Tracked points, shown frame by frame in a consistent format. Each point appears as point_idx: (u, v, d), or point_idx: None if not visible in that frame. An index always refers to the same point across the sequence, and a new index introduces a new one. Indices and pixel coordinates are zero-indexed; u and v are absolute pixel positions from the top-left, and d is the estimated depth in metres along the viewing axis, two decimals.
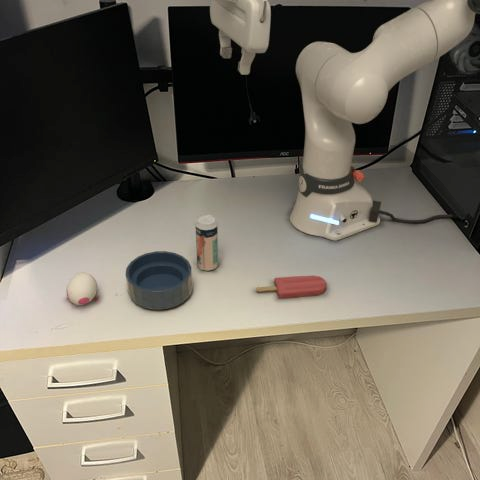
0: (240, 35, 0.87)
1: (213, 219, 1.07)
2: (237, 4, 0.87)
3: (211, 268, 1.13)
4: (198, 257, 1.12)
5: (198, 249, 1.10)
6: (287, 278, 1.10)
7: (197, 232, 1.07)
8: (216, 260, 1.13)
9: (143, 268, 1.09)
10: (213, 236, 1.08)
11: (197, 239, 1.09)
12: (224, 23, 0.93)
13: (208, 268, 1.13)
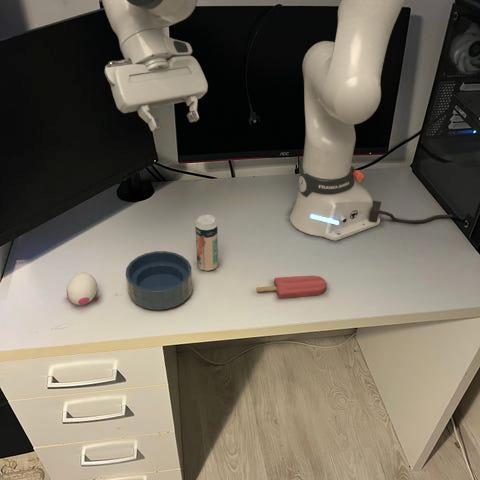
0: None
1: (213, 219, 1.07)
2: None
3: (211, 268, 1.13)
4: (198, 257, 1.12)
5: (198, 249, 1.10)
6: (287, 278, 1.10)
7: (197, 232, 1.07)
8: (216, 260, 1.13)
9: (143, 268, 1.09)
10: (213, 236, 1.08)
11: (197, 239, 1.09)
12: None
13: (208, 268, 1.13)
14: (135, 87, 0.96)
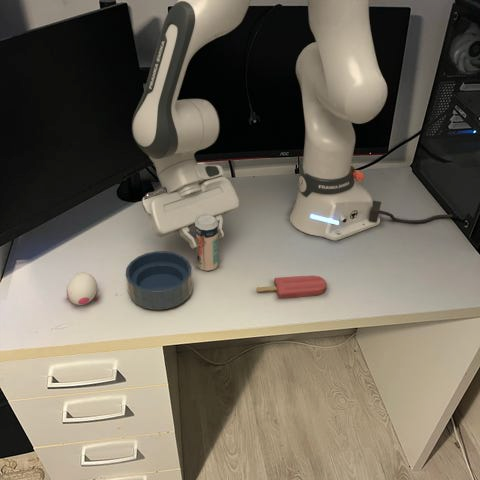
0: None
1: (213, 219, 1.07)
2: None
3: (211, 268, 1.13)
4: (198, 257, 1.12)
5: (198, 249, 1.10)
6: (287, 278, 1.10)
7: (197, 232, 1.07)
8: (216, 260, 1.13)
9: (143, 268, 1.09)
10: (214, 236, 1.08)
11: None
12: None
13: (208, 268, 1.13)
14: (169, 216, 1.05)
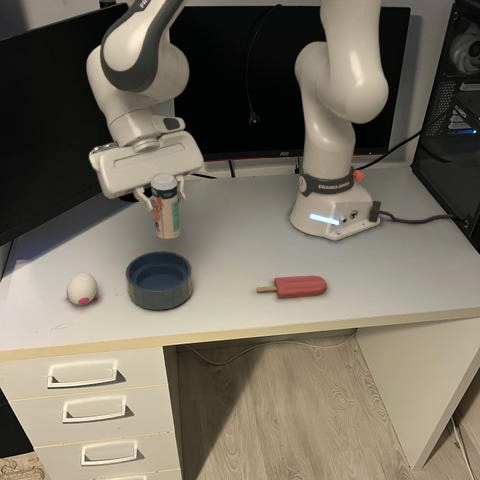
0: None
1: (172, 178, 0.93)
2: None
3: (172, 236, 0.99)
4: (156, 223, 0.98)
5: (156, 214, 0.97)
6: (287, 278, 1.10)
7: (153, 193, 0.94)
8: (177, 227, 0.99)
9: (143, 268, 1.09)
10: (172, 197, 0.94)
11: None
12: None
13: (168, 236, 0.99)
14: (120, 173, 0.91)
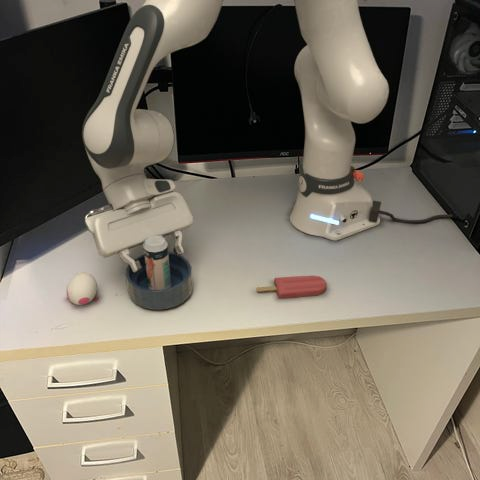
0: None
1: (162, 240, 1.00)
2: None
3: None
4: (149, 280, 1.05)
5: (148, 272, 1.03)
6: (287, 278, 1.10)
7: (145, 254, 1.00)
8: (168, 283, 1.06)
9: (143, 268, 1.09)
10: (163, 258, 1.00)
11: (146, 261, 1.01)
12: None
13: None
14: (114, 235, 0.98)
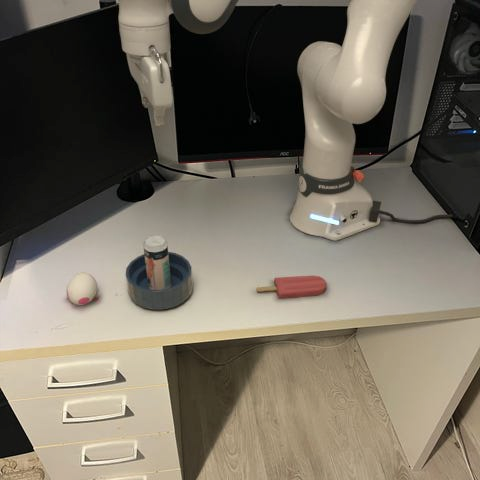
0: (148, 93, 0.94)
1: (162, 240, 1.00)
2: (142, 65, 0.93)
3: None
4: (149, 280, 1.05)
5: (148, 272, 1.03)
6: (287, 278, 1.10)
7: (145, 254, 1.00)
8: (168, 283, 1.06)
9: (143, 268, 1.09)
10: (163, 258, 1.00)
11: (146, 261, 1.01)
12: (138, 79, 0.99)
13: None
14: None
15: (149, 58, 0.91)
